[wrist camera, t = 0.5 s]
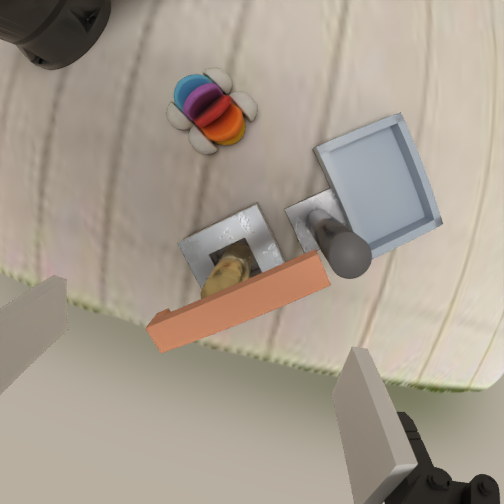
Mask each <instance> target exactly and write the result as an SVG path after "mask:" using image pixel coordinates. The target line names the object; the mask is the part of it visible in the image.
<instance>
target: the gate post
mask: <svg viewBox="0 0 504 504" xmlns="http://www.w3.org/2000/svg"><path fill="white" fill-rule="evenodd" d="M285 211H286V213H287V215H288V218H289V220H290V222H291V224H292V226H293V228H294V231H295V233H296V235H297V237H298V239H299V241H300V244H301V246H302V248H303V250H304V253H307V252H310V251H312V250H314V249H315V250H316V251H317V250H320V249H321V251H322V253H323V254H324V256H325V258H326V259H327V256H326V250H327V246H328V244H329V242H330V240H331V239H332V238H333V237H334V236H336V235H337V234H339V233H342V232H352V233H354V232H353V231H352V230H350V229H349V227H348V225H347V222H346V220H345V218H344V215H343V213H342V211H341V208H340V206H339V204H338V201H337V199H336V197H335V194H334V192H333V190H332V188H329V189H327V190H325V191H322V192H320V193H318V194H316V195H314V196H311V197H309V198H307V199H305V200H303V201H300V202H298V203H296V204H294V205H292V206H289V207H287V208H285ZM355 234H356V233H355ZM327 261H328V260H327ZM328 263H329V262H328Z"/></svg>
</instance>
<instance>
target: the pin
mask: <svg viewBox="0 0 504 504" xmlns="http://www.w3.org/2000/svg"><path fill="white" fill-rule="evenodd" d="M252 263H253V253H252V251H251V249H250V248H249V247H248V246H247V245H245V244H242V243H234V244H232V245H230V246H229V247H228V248H227V249H226V250H225V252H224V253H223V255H222V257H221V258H220V260H219V261H218V263H217V265H216V266H215V268H214V270H213V271H212V273H211V274H210V276H209V278H208V279H207V281H206V282H205V284H204V286H203V288H202V291H201V299H203V298H205V297H208V296H210V295H212V294H215V293H217V292H219V291H222V290H224V289H226V288H228V287H231V286H233V285H235V284H238V283H240V282H242V281H244V280H247V279H249V275H250V271H251V267H252Z"/></svg>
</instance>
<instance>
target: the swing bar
mask: <svg viewBox="0 0 504 504" xmlns="http://www.w3.org/2000/svg"><path fill="white" fill-rule="evenodd" d="M326 256H327V260H328V262H329V264H330V266H331V268H332V269H333V271H334V272H335V273H336V274H337V275H338V276H340V277H342V278H346V279H353V278H357V277H359V276H361V275H362V274H364V273H365V272H366V271H367V269H368V268H369V266H370V264H371V260H372V252H371V248H370V246H369V245H368V243H367V242H366V241H365V240H364V239H362V238H361V237H360V236H358V235H357V234H355V233H352V232H342V233H339V234H337V235H336V236H334V237H333V238H332V239H331V240H330V242H329V244H328V246H327V250H326ZM330 285H331V284H330V281H329V279H328V277H327V274H326V272H325V270H324V267H323V265H322V263H321V260H320V258H319V256H318V254H317V252H316V250H315V249H314V250H312V251H310V252H307V253H305V254H303V255H301V256H299V257H296V258H294V259H292V260H290V261H287V262H285V263H283V264H281V265H278V266H276V267H274V268H272V269H269V270H267V271H265V272H263V273H260V274H258V275H256V276H254V277H251V278H249V279H247V280H244V281H242V282H240V283H238V284H235V285H233V286H231V287H228V288H226V289H224V290H222V291H219V292H217V293H215V294H212V295H210V296H208V297H205V298H203V299H201V300H198V301H196V302H194V303H191V304H189V305H187V306H184V307H182V308H180V309H177V310H175V311H172V312H170V310H169V308H168V309H166V310H164V311H161V312H159V313H157V314H156V316H155V317H154V318H153V319H152V321H151V322H150V323H149V324H148V326H147V327H146V330H147V332H148V333H149V335H150V336H151V338H152V340H153V341H154V343H155V344H156V346H157V348H158V349H159V351H160V352H161V353H163V352H166V351H169V350H172V349H174V348H177V347H180V346H183V345H185V344H188V343H191V342H194V341H196V340H199V339H202V338H204V337H207V336H209V335H212V334H215V333H217V332H220V331H222V330H225V329H228V328H230V327H233V326H235V325H238V324H240V323H243V322H245V321H248V320H250V319H253V318H255V317H258V316H260V315H262V314H265V313H267V312H270V311H272V310H274V309H277V308H279V307H282V306H284V305H286V304H289V303H291V302H293V301H296V300H298V299H300V298H303V297H305V296H307V295H310V294H312V293H314V292H316V291H319V290H321V289H323V288H325V287H328V286H330Z"/></svg>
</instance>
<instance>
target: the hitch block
mask: <svg viewBox="0 0 504 504" xmlns="http://www.w3.org/2000/svg"><path fill="white" fill-rule="evenodd" d="M243 238H246V241H247V243H248V245H249V247H250V249H251V251H252V253H253V255H254V257H255V259H256V261H257V263H258V265H259V267H260V268H259V269H257V270H255V271H252V272H250V275H249V278H251V277H254V276H256V275H258V274H260V273H263V272H265V271H267V270H269V269H272V268H274V267H276V266H278V265H281V264H283V263H285V262H286V261H285V258H284V256H283V254H282V252H281V250H280V248H279V246H278V244H277V241H276V239H275V237H274V235H273V233H272V231H271V229H270V227H269V225H268V223H267V220H266V218H265V216H264V214H263V212H262V210H261V208H260V206H259V204H258V203H256V204H253V205H251V206H249V207H247V208H245V209H243V210H241V211H239V212H237V213H235V214H233V215H230V216H228V217H226V218H224V219H222V220H220V221H218V222H216V223H214V224H212V225H210V226H208V227H206V228H204V229H202V230H200V231H198V232H196V233H194V234H192V235H190V236H188V237H186V238H184V239H183V240H181V241H180V242H179V243H177V244H178V246H179V247H180V249H181V251H182V253H183V255H184V257H185V259H186V261H187V263H188V265H189V267H190V268H191V270H192V272H193V274H194V276H195V278H196V280H197V282H198V283H199V285H200V287H201V289H202V288H203V286H204V284H205V282H206V281H207V279H208V278H209V276H210V274H211V273H212V271H213V270H214V268H215V266H216V265H217V263H218V261H219V259H218V257H217V255H216V253H215V251H217V250H219V249H221V248H224V247H226V246H228V245H230V244H232V243H234V242H236V241H239V240H241V239H243Z"/></svg>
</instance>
